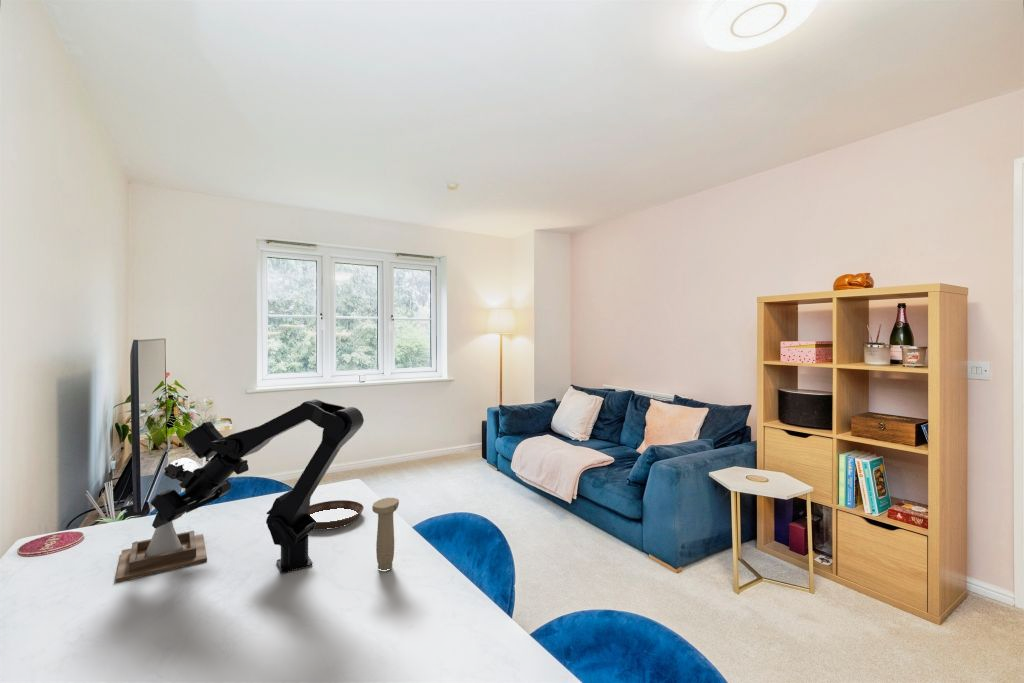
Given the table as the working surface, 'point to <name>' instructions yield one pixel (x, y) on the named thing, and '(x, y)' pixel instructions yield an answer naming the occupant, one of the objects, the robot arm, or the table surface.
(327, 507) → the ring
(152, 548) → the flask
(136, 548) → the holder
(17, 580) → the table surface
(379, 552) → the handle
